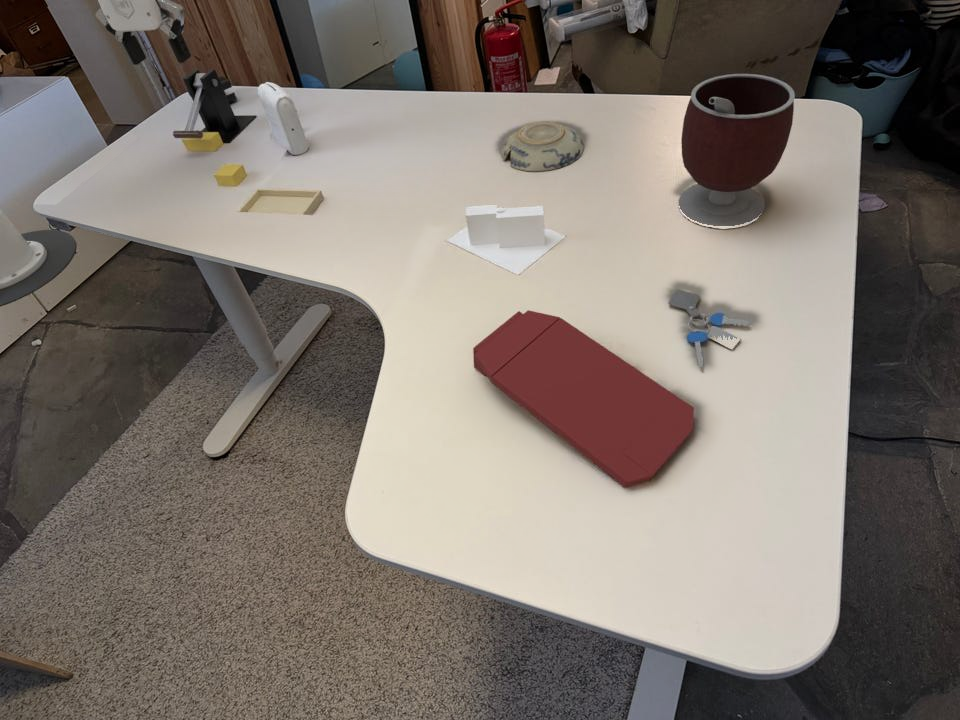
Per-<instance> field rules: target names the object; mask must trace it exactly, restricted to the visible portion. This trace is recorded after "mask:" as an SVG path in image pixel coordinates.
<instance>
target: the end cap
mask: <svg viewBox="0 0 960 720" xmlns="http://www.w3.org/2000/svg"><path fill="white" fill-rule="evenodd" d="M218 78H219V80H220V82H221V85H222V87H223V89H224V91H226V90H229V89H230V88H232V87H233V86H232V83H231V81H230V80H229V78H228V77H225V76H220V77H218ZM186 91H187V93H188V95H189V97H191V95H190V93H189V91H188V89H187V88H186ZM226 96H227V99H228V101H229V103H233V102H235V101H237V100H238V98H237V96H236V93H235V92H234V91H233V92H231V93H228V94H226Z"/></svg>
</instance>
